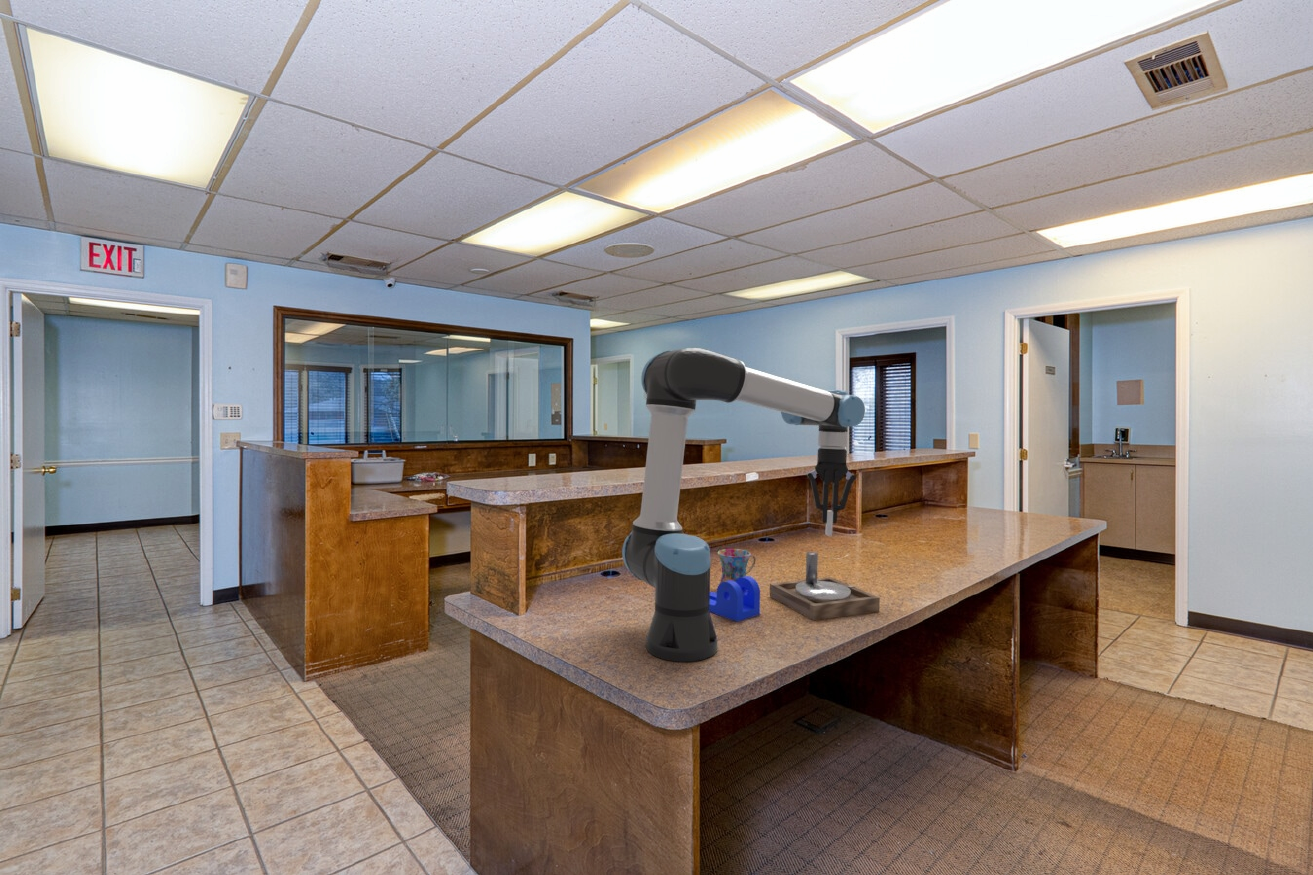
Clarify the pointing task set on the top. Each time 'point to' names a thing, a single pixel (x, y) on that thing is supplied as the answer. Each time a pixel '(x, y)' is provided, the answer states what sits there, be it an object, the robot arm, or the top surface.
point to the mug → (734, 563)
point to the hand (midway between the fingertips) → (828, 534)
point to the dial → (820, 585)
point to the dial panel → (816, 611)
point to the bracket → (736, 599)
